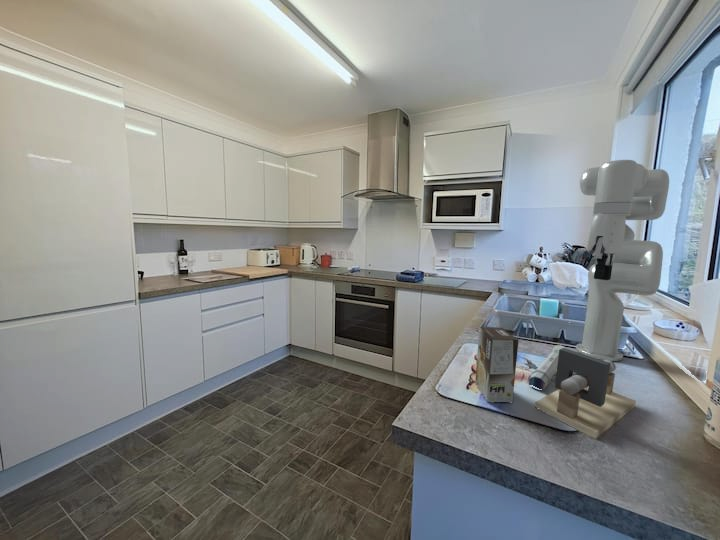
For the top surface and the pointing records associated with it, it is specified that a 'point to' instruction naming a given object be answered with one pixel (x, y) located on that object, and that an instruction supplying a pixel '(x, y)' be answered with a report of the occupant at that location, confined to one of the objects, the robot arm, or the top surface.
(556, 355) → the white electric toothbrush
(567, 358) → the collar
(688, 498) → the top surface
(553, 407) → the pipe rig
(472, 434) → the top surface
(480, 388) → the coffee box
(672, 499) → the top surface
